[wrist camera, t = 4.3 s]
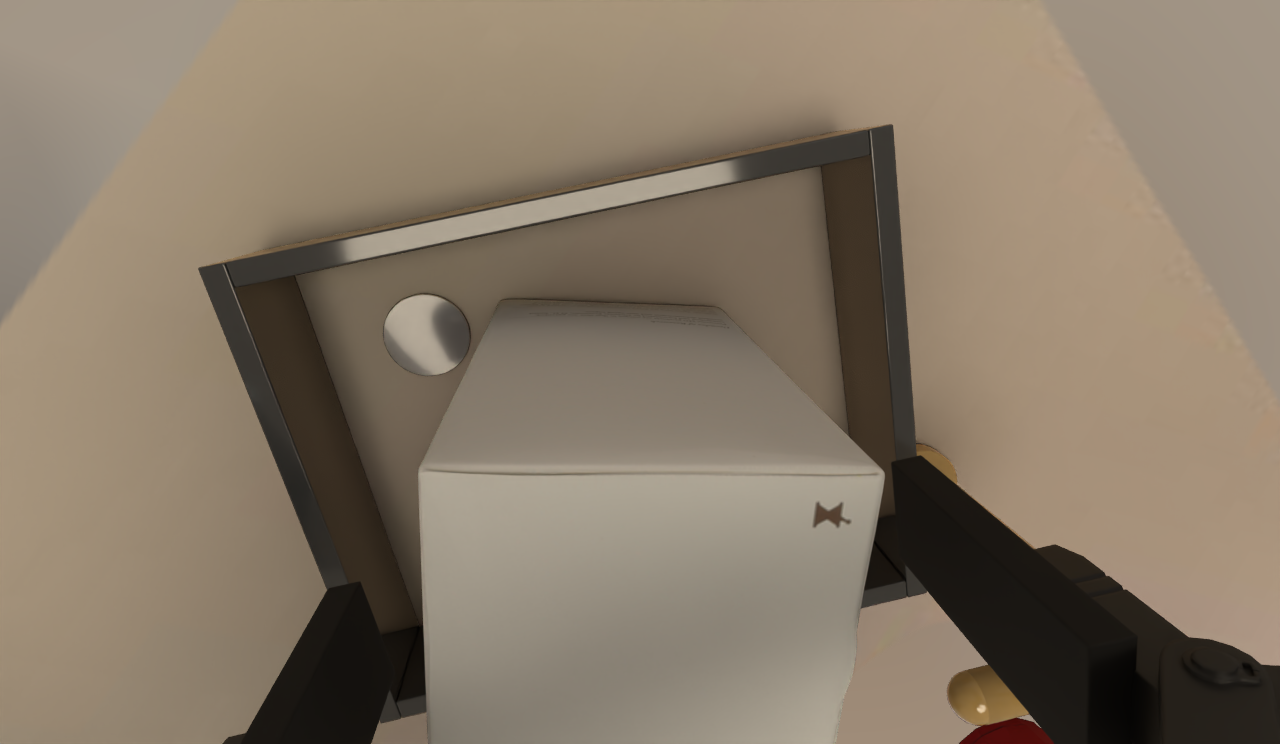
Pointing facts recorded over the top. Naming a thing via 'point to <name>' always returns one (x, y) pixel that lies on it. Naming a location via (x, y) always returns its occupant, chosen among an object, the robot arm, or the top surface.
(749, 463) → the rectangular carton
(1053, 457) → the top surface
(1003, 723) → the plastic cup
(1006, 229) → the top surface
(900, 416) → the sink
